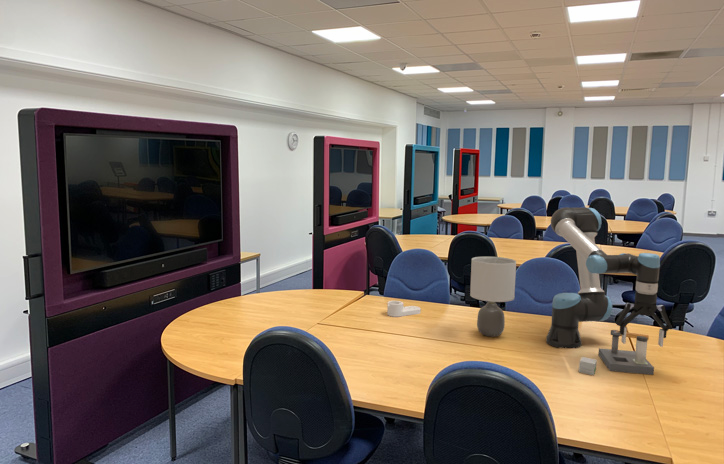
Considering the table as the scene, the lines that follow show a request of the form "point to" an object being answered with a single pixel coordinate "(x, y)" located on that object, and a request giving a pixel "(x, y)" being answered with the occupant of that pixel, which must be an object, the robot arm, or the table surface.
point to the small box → (587, 366)
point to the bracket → (401, 309)
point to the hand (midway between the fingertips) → (641, 344)
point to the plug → (641, 349)
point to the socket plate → (623, 360)
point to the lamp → (492, 290)
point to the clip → (627, 334)
